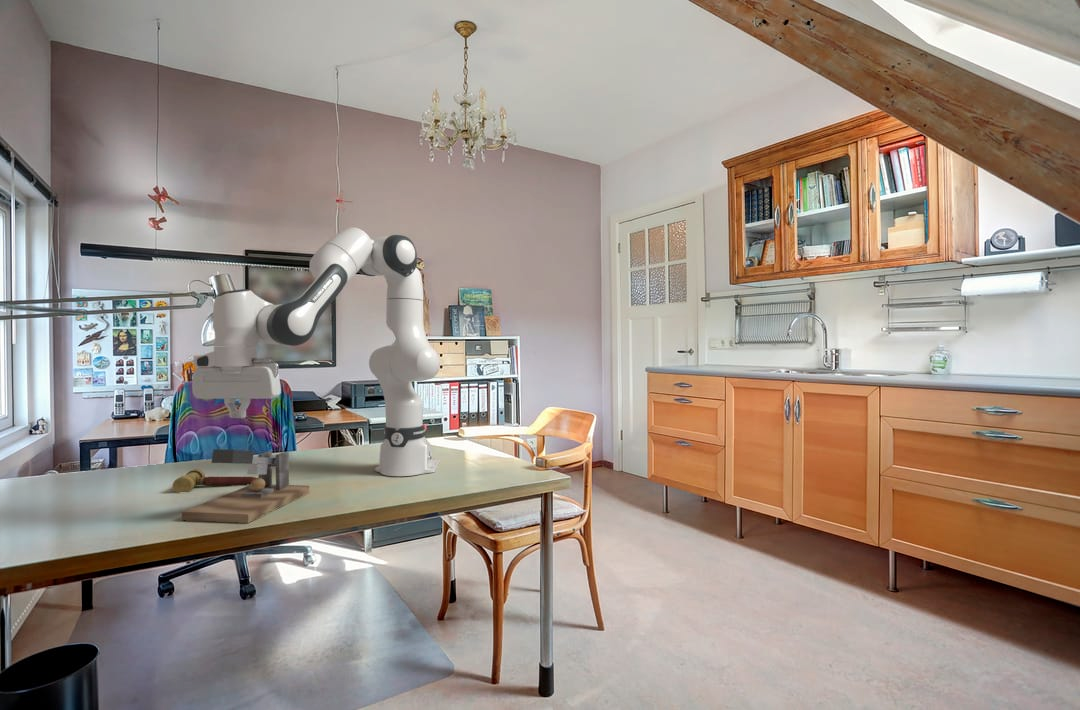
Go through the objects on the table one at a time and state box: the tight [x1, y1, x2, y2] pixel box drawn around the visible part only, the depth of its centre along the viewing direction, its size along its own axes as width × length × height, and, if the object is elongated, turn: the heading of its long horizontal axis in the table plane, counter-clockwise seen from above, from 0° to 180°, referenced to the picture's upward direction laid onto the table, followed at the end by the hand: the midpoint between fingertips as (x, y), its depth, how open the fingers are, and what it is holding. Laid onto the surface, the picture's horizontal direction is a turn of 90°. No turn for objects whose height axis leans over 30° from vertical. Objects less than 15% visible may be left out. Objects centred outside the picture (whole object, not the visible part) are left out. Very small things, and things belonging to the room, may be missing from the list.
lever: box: [211, 448, 277, 476], centre depth 128 cm, size 20×5×6 cm, turn 173°
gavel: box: [172, 468, 257, 494], centre depth 147 cm, size 21×5×10 cm
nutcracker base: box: [181, 451, 310, 524], centre depth 128 cm, size 24×16×11 cm, turn 173°
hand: (237, 417), depth 123 cm, fingers closed
